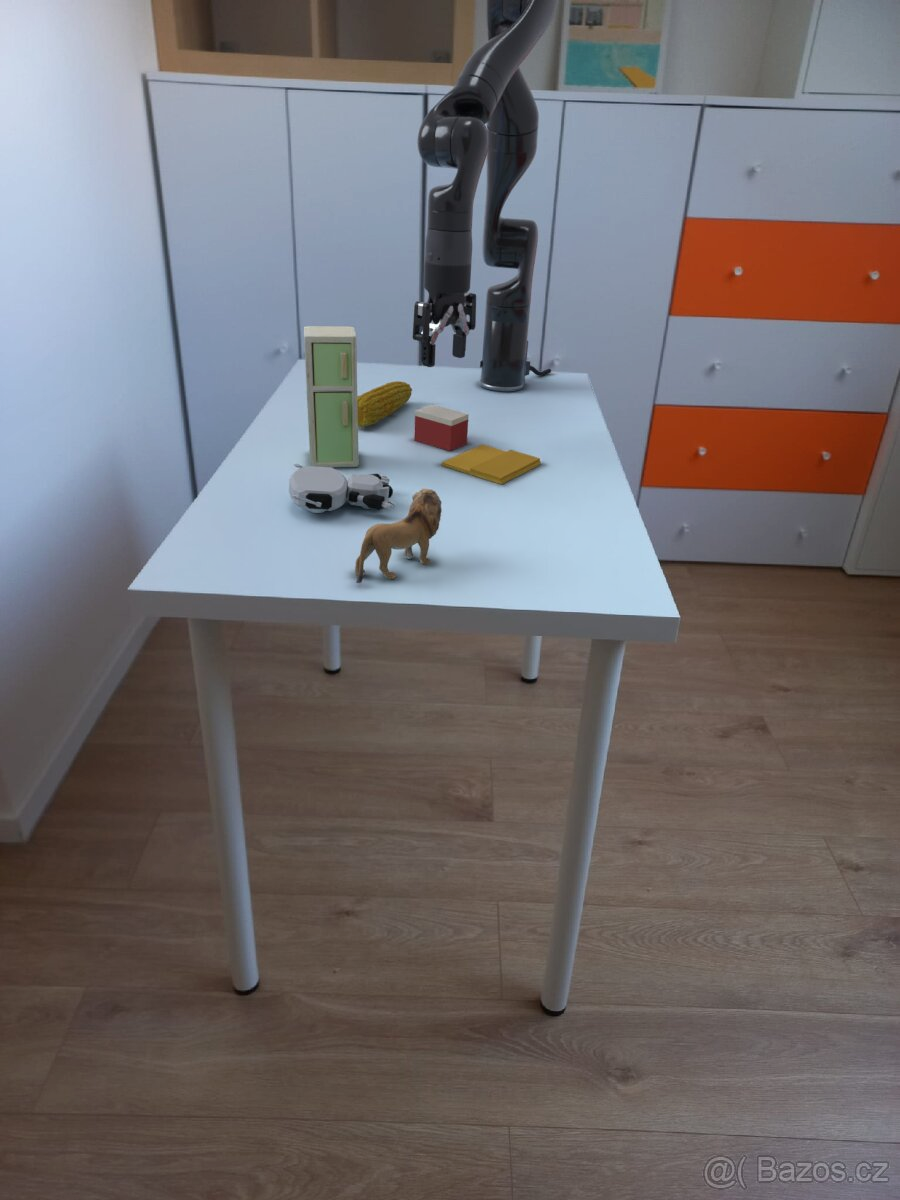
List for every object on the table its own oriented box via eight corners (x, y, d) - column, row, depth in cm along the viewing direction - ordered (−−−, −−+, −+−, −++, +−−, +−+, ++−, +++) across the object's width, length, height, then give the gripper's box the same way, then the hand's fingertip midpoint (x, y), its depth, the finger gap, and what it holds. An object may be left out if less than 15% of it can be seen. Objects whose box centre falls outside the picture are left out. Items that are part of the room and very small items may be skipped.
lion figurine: (418, 542, 112) (420, 480, 108) (449, 554, 110) (453, 491, 105) (342, 580, 102) (340, 513, 98) (374, 595, 99) (374, 527, 95)
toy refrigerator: (309, 470, 133) (303, 336, 122) (308, 454, 139) (303, 325, 128) (359, 469, 134) (358, 337, 123) (356, 453, 140) (355, 326, 130)
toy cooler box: (466, 444, 147) (468, 413, 144) (450, 451, 143) (451, 420, 141) (431, 433, 151) (432, 404, 148) (414, 440, 147) (414, 410, 145)
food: (372, 433, 149) (372, 401, 146) (344, 428, 151) (343, 396, 148) (417, 403, 167) (418, 373, 164) (391, 398, 168) (391, 369, 165)
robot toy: (388, 493, 128) (289, 487, 126) (390, 465, 126) (290, 459, 123) (394, 527, 118) (287, 521, 115) (397, 497, 116) (288, 491, 113)
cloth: (482, 447, 146) (482, 441, 145) (540, 464, 140) (541, 458, 139) (441, 465, 137) (441, 459, 137) (501, 484, 131) (502, 478, 131)
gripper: (439, 267, 125) (435, 374, 134) (492, 258, 135) (485, 358, 144) (401, 260, 129) (399, 365, 137) (455, 252, 139) (451, 350, 147)
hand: (443, 361), depth 141 cm, fingers open, 8 cm apart
